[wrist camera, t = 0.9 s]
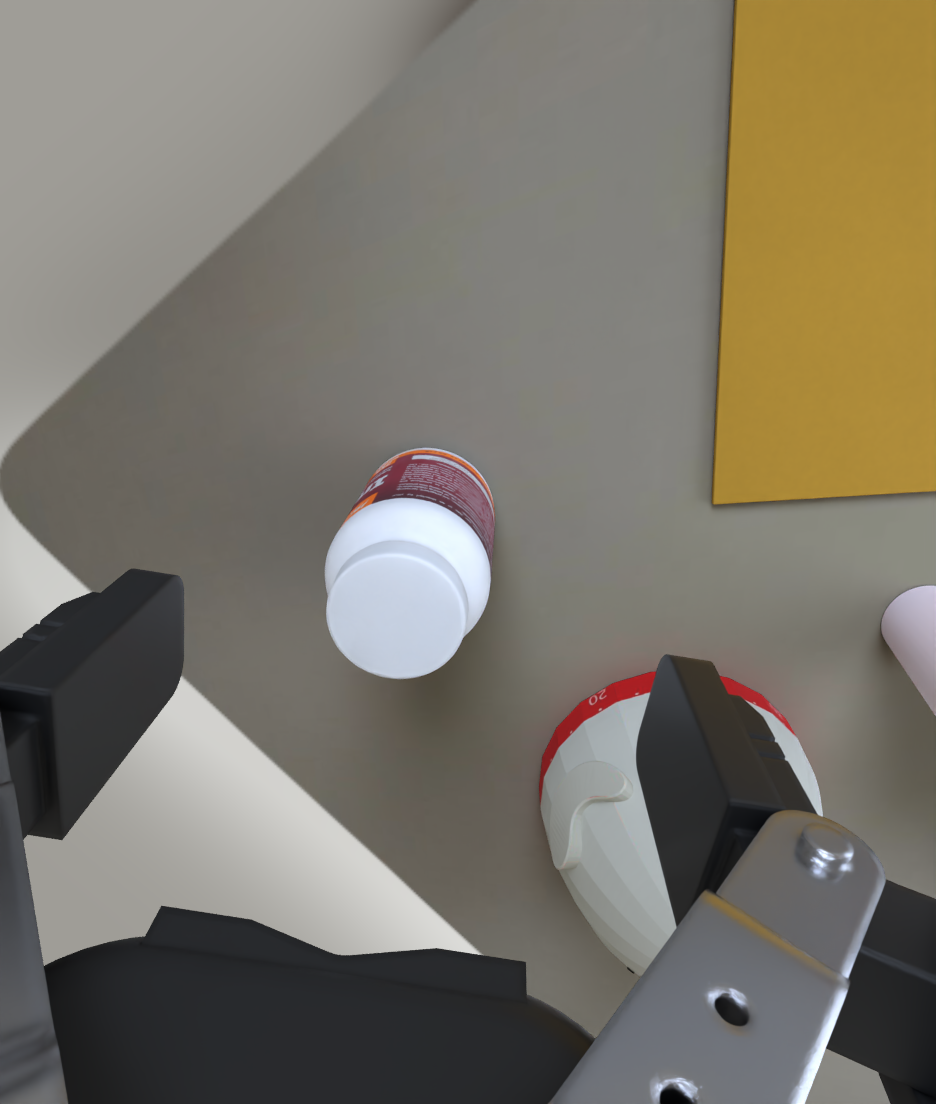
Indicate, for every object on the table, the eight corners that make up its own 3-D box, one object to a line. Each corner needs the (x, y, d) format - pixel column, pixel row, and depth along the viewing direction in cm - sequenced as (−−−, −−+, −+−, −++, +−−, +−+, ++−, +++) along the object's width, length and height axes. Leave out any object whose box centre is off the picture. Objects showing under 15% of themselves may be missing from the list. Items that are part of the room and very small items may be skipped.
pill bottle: (376, 429, 33) (318, 508, 23) (510, 462, 33) (510, 555, 23) (353, 553, 35) (289, 675, 25) (477, 583, 35) (465, 716, 25)
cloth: (735, -32, 26) (738, -36, 26) (1219, -88, 25) (1227, -92, 24) (711, 502, 33) (713, 504, 33) (1081, 480, 32) (1086, 482, 32)
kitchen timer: (493, 816, 41) (487, 1106, 27) (627, 626, 36) (703, 859, 22) (702, 911, 43) (796, 1227, 29) (856, 742, 38) (1059, 1025, 24)
